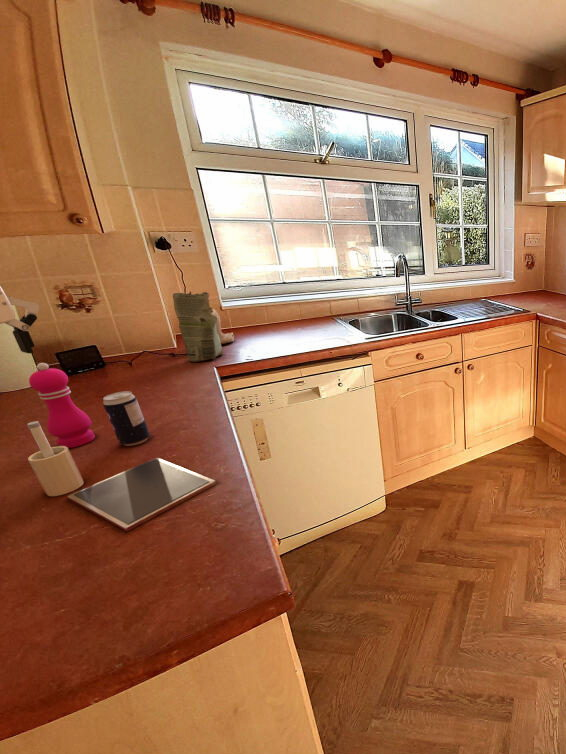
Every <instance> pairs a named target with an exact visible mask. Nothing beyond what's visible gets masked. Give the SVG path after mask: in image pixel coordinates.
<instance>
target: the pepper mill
mask: <svg viewBox="0 0 566 754" xmlns="http://www.w3.org/2000/svg"><path fill="white" fill-rule="evenodd" d="M49 367H50V366H49V364H48V363H47V362H46V363H45V362H39V363H38V364H37V365H36V368H37V370H36V371H35V372H33V373H32V374H31V375H30V376H29V378H28V383H29V386H30V387H31V388H32V389H33V390H36V391H37V392H38V393H37V395H38V396H39V399H40V400H43V401H44V402H45V404H46V406H47V408H48V417H47V420H46V421H47V423H46V429H47V431H48V433H49V434H50V435H51V436H53V437H56V443H57V446H66V447H68V449H71V448H76V447H80V446H83V445H86V444H88V443H90V442H92V441H93V440H94V439H95V438H96V435H95V433H94V431H93V430H92V429H90V428H91V426H92V420H91V417H89V416H88V415H87V413H86V412H84V411H83V410H81V409H80V408H79V407H77V406H76V405H75V403H74V402H73V400H72V398H71V396H70V394H71V393H72V391H71V389H70V387H69V386H68V383H69V377H68V375H67V373H66V372H65V371H63V370H61V369H58V368H54V367H53V368H51V367H50V368H49Z"/></svg>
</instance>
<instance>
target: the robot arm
mask: <svg viewBox="0 0 566 754" xmlns="http://www.w3.org/2000/svg"><path fill="white" fill-rule="evenodd" d="M13 306H16V307H20V308H24V310H25V313H24V315H23V316H22V317H21V318H20V319H17V318H16V314H15V313H16V312H15V311H14V309H13ZM40 307H41V306H40V304H39V303H38V302H33V301H28V300H23V299H19V298H14V297H11V296H7V295H6V293H5V291H4V290H3V288H2V286H1V285H0V325H3V324H6V325H8V326H9V327H12V328H13V330H12V335H13V336H14V339H15V341H16V343H17V346H18V348H19V350H20V352H22V353H25V354H34V351H33V348H35V343H34V341H33V339H32V336H31V334H30V332H29V331H30V330H31V327H32V326H33V324H35V322H36V321H37V319H38V315H39V312H40Z"/></svg>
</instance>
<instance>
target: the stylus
mask: <svg viewBox="0 0 566 754" xmlns="http://www.w3.org/2000/svg"><path fill="white" fill-rule="evenodd" d="M27 428H28V429H29V431H30V433H31V435H32V437H33V438H34V441H35V442H36V444H37V446H38V448H39V451H41V452H42V454H43V456H44V458H48V457H52V456H54V452H53V450H52V447H51V445H50V443H49V440H48V439H47V437H46V435H45V432H44V431H43V429H42V426H41V424H40V422H39V421H35V420H34V421H31V422H28V423H27Z"/></svg>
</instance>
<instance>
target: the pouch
mask: <svg viewBox="0 0 566 754" xmlns="http://www.w3.org/2000/svg"><path fill="white" fill-rule="evenodd" d="M209 295H210V293H209V292H207V291H204V292H202V293H195V294H194V293H193V294H192V291H189V293H183V292H175V293H174V292H173V293H172V300H173V308H174V312H175V315H176V318H177V319H178V328H179V331H180V334H181V339H182V341H183V346H184V348H185V352H186V356H187V359H188V361H191V362H192V363H193V362H194V363H195V362H203V361H208V360H215V359H216V357H218V356H223V355H224V353H223V346H222V344H220V338H219V334H218V333H217V330H216V323H217V317H216V316H212V313H211V311H212V309H214V308H213V307H211V306H210V299H209V297H210V296H209Z"/></svg>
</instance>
